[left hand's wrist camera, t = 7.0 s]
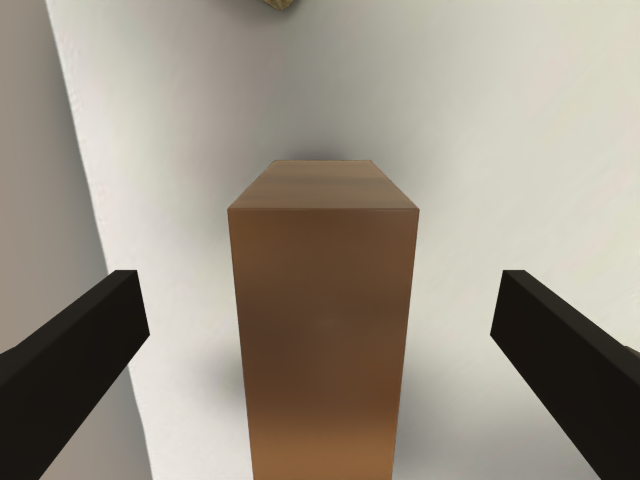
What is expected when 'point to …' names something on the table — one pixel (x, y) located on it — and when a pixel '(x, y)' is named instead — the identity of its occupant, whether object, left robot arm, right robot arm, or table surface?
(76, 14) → the table surface
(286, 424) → the box
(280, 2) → the sculpture
